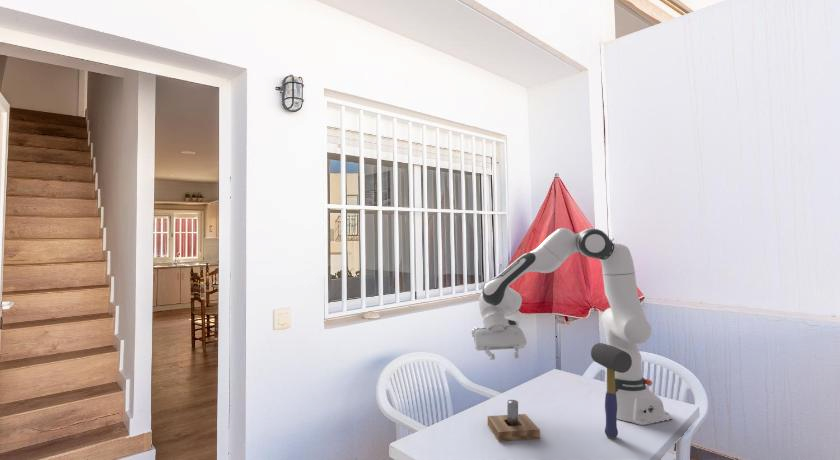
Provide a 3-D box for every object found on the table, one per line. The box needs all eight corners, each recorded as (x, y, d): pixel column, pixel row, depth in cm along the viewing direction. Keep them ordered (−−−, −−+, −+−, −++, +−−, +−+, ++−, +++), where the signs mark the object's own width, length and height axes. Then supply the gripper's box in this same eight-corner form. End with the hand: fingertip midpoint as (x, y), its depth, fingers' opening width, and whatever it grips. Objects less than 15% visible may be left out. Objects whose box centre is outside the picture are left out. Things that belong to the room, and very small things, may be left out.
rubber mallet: (635, 445, 129) (634, 350, 130) (615, 447, 128) (614, 351, 128) (608, 427, 142) (607, 340, 142) (589, 429, 140) (588, 342, 141)
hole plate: (525, 422, 145) (525, 413, 145) (539, 438, 133) (539, 429, 134) (487, 424, 144) (487, 416, 144) (498, 441, 132) (498, 431, 132)
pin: (516, 428, 141) (515, 399, 141) (519, 433, 137) (519, 403, 137) (505, 429, 140) (505, 399, 140) (509, 434, 136) (509, 404, 137)
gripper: (472, 323, 160) (479, 355, 150) (521, 321, 163) (532, 352, 153) (469, 332, 164) (476, 364, 154) (517, 330, 167) (527, 361, 157)
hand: (504, 358), depth 153 cm, fingers open, 8 cm apart
